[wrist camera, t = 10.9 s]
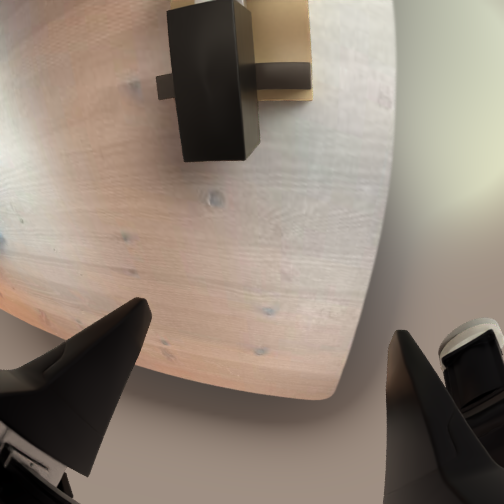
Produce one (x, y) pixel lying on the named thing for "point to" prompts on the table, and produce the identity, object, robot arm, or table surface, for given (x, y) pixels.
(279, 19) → the rack
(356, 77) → the table surface
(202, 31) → the knife
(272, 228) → the table surface
